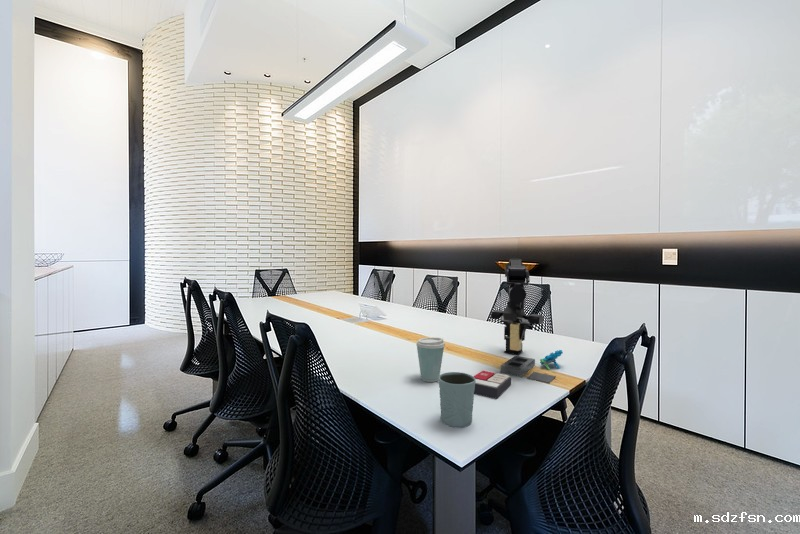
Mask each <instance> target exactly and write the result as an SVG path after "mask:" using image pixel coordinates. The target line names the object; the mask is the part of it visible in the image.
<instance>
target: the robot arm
mask: <svg viewBox="0 0 800 534" xmlns="http://www.w3.org/2000/svg"><path fill="white" fill-rule="evenodd" d="M504 277H505V278H506V285H508V286H509V287H508V301H507V305H506V307H505V308H504V310H501V309H500V310H499V309H496V310H492V311H491V312H490V319H492V320H499V319H501V320H500V322H501V323H503V324H504V327H503V328H504V330H503V331H504V332H503V335H504V336H503V338H504V339H503V340H505V350H504V352H503V353H506V354H512V355H515V356H519V355H520V354H522V353H523V348H522V349H521V350H519V351H516V350H510V324H511V323H513V322H514V323H520V326H521V328H520V340H522V342H523V341H525V339H526V337H525V336H526V330H527V328H528V327H529V326H530V325H531V324H532V325H540V324H543V323H544V316H543V315H542V314H539V313H538V314H537V313H536V314H535V313H532V314H529V315H526V311H525V304H526V301H525V300H526V298H527V292H526V290H525V286H528V285H529V283H530V272H529V270H528V269H527V267H526V266H525V264H524V263H523V262H522V258H510V259H509V262H507V263H506V264H505V267H504ZM521 352H522V353H521Z"/></svg>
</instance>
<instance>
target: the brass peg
mask: <svg viewBox="0 0 800 534" xmlns="http://www.w3.org/2000/svg"><path fill="white" fill-rule="evenodd" d="M520 328H521V326H520V323H514V322H513V323H511V324H510V350H516V351H519V350H521V349H522V350H523V341H522V340H520Z"/></svg>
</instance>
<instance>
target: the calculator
mask: <svg viewBox="0 0 800 534" xmlns="http://www.w3.org/2000/svg"><path fill="white" fill-rule="evenodd" d="M472 376H473V377H474V378H475V379H476V382H475V390H474V395H478V396H482V397H486V398H491V399H495V400H498V399H499V398H500V397H501V396H502V394H504V392H506V391H507V390H508V389H509V388H510V387H511V386H512V377H511V375H508V374H504V373H495V372H491V371H487V370H481V371H479V372H478V373H477V374H475V375H472Z"/></svg>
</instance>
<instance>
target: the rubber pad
mask: <svg viewBox="0 0 800 534" xmlns="http://www.w3.org/2000/svg"><path fill="white" fill-rule="evenodd" d="M556 377H557V376H556V375H552V374H547V373H542V372H538V371H533V372H532V373H530V374H529V375H528V376H526V379H527V380H531V381H535V380H536V381H535V382H541V383H546V384H550V382H553V380H554V379H556Z"/></svg>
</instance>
